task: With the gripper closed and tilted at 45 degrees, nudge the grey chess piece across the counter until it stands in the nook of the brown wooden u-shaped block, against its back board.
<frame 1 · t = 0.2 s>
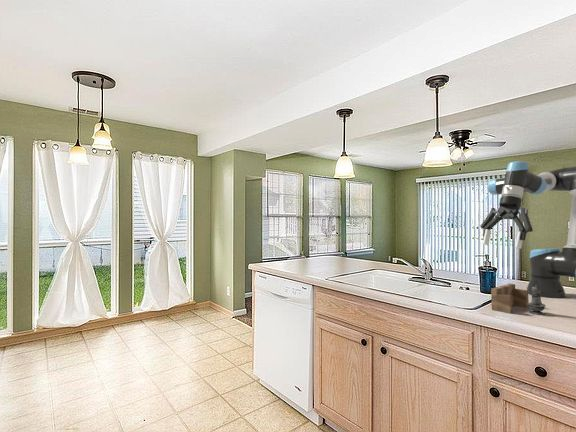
hand: (500, 246, 134), 27 cm above the table, tool tilted 15°, fingers open, 13 cm apart
brown wooden u-shaped block: (504, 306, 141), on the table
grey chess piece: (536, 313, 131), on the table
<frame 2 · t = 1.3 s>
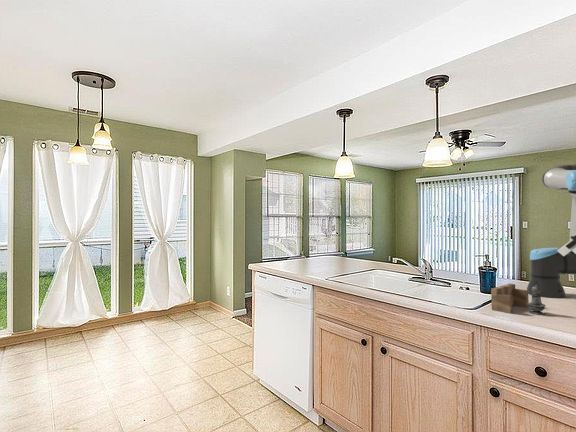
hand: (566, 252, 123), 26 cm above the table, tool tilted 45°, fingers open, 12 cm apart
nothing on the table moved.
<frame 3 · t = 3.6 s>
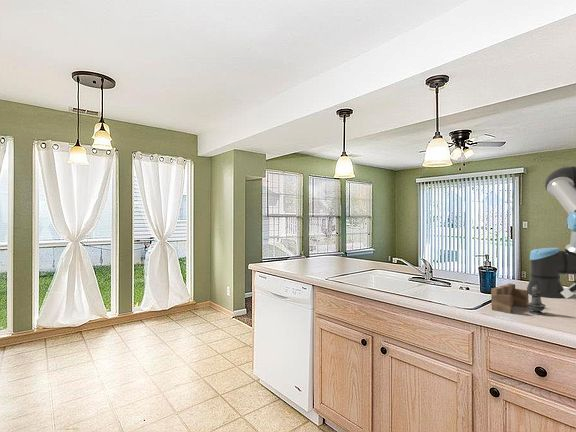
hand: (564, 295, 124), 9 cm above the table, tool tilted 45°, fingers closed
nothing on the table moved.
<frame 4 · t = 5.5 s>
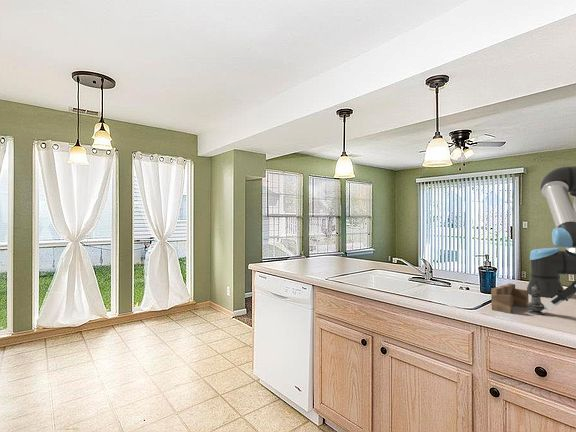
hand: (546, 306, 128), 3 cm above the table, tool tilted 45°, fingers closed
grey chess piece: (536, 313, 131), on the table, touching gripper
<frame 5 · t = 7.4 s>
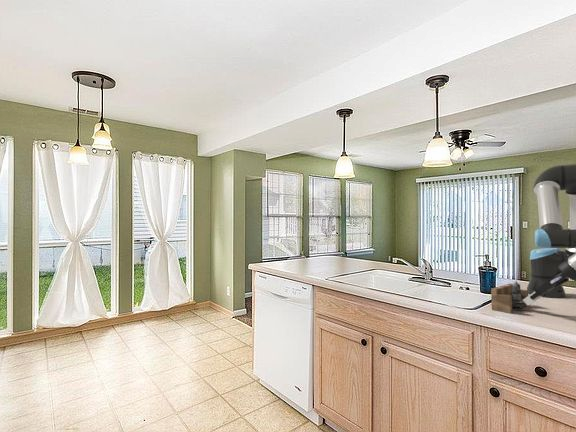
hand: (525, 302, 134), 4 cm above the table, tool tilted 45°, fingers closed
grey chess piece: (516, 309, 138), on the table, touching gripper
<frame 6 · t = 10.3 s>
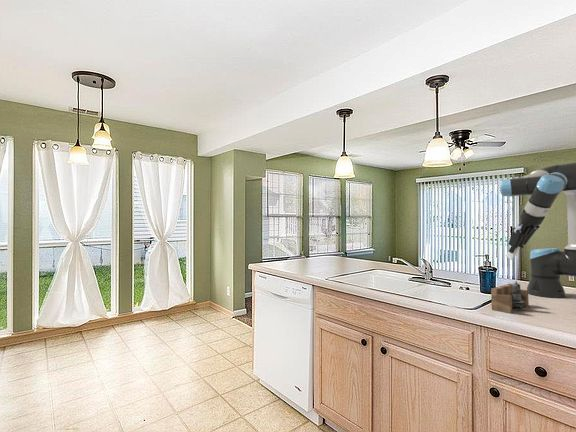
hand: (509, 257, 142), 22 cm above the table, tool tilted 35°, fingers closed
grey chess piece: (516, 309, 138), on the table
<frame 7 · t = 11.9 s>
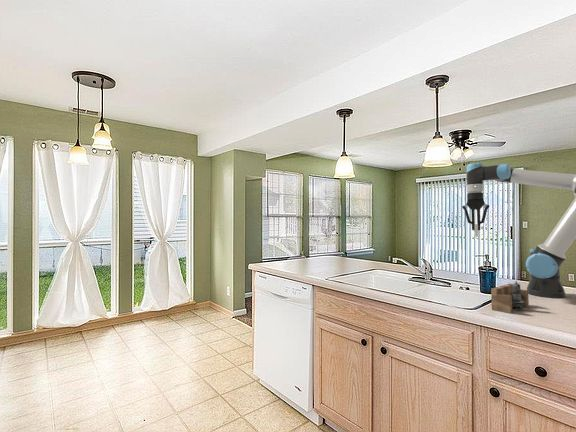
hand: (476, 236, 172), 29 cm above the table, tool pointing down, fingers closed
nothing on the table moved.
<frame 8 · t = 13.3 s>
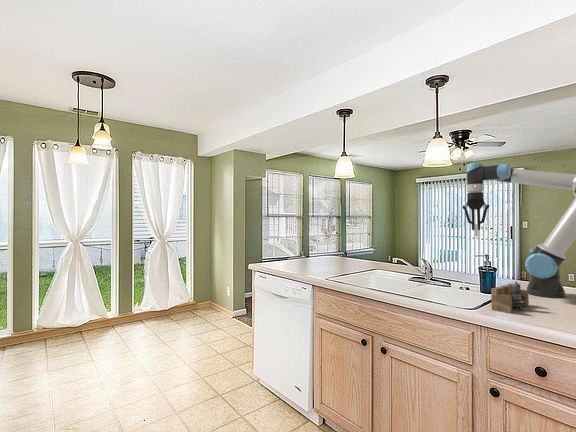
hand: (476, 236, 172), 29 cm above the table, tool pointing down, fingers closed
nothing on the table moved.
at the end: grey chess piece 4.8 cm from the brown wooden u-shaped block (horizontally); grey chess piece tilted 0°; grey chess piece moved 7.2 cm from its start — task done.
